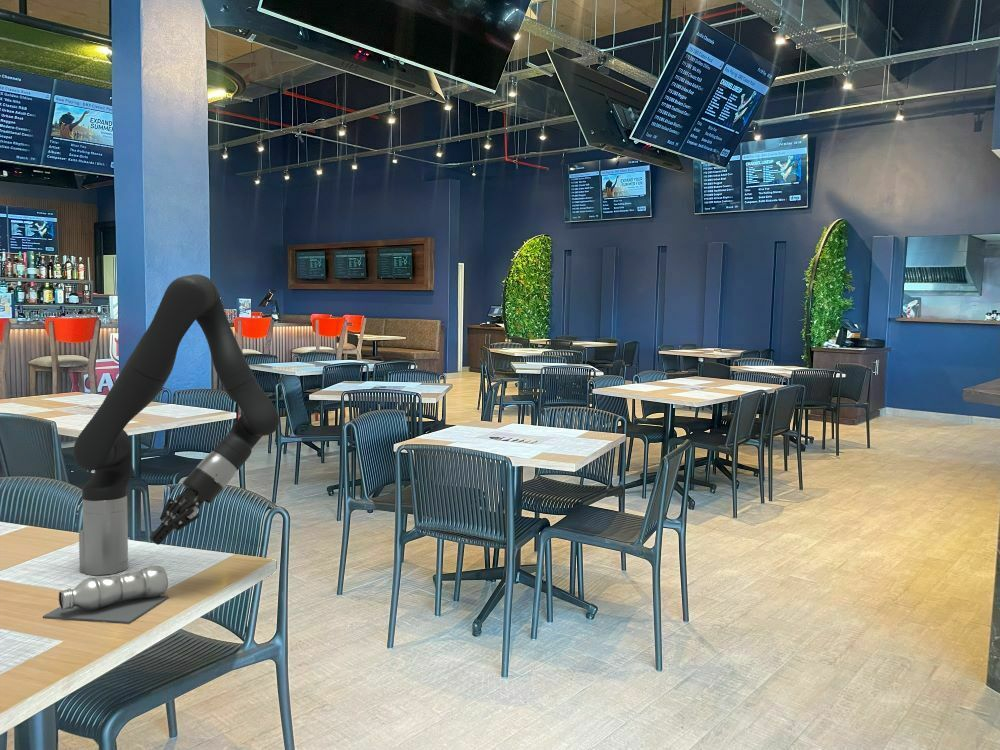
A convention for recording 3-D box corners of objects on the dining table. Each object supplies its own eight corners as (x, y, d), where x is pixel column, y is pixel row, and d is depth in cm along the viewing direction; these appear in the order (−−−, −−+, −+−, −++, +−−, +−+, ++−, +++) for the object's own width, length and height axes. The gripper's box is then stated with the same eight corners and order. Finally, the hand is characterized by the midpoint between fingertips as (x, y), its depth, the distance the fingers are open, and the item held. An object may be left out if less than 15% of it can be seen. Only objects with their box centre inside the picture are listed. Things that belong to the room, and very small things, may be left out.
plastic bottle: (168, 601, 164) (63, 625, 150) (157, 577, 168) (54, 599, 154) (174, 579, 161) (67, 602, 147) (163, 556, 165) (59, 576, 151)
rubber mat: (42, 618, 151) (42, 616, 151) (88, 593, 164) (88, 591, 164) (129, 623, 149) (129, 621, 148) (168, 598, 162) (168, 596, 162)
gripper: (186, 462, 172) (129, 525, 165) (211, 471, 163) (151, 538, 155) (210, 482, 176) (155, 545, 169) (235, 492, 167) (178, 559, 159)
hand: (153, 541), depth 162 cm, fingers closed
